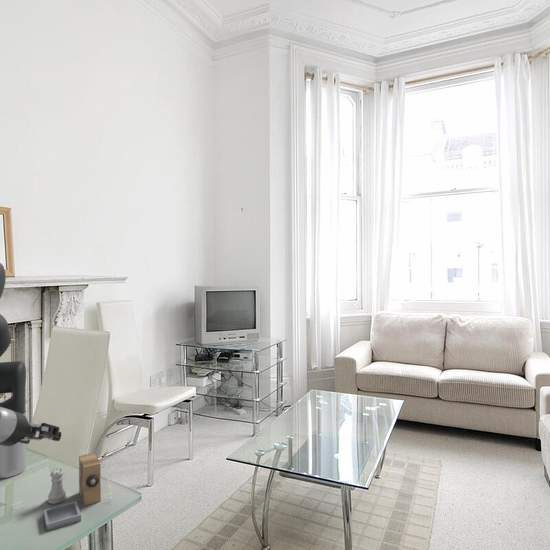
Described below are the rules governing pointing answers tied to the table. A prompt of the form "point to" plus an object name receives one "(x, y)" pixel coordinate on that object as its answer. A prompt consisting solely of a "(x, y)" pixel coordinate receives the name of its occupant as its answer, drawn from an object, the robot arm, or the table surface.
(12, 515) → the table surface
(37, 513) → the table surface
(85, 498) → the block
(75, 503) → the tray
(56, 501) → the rook chess piece
